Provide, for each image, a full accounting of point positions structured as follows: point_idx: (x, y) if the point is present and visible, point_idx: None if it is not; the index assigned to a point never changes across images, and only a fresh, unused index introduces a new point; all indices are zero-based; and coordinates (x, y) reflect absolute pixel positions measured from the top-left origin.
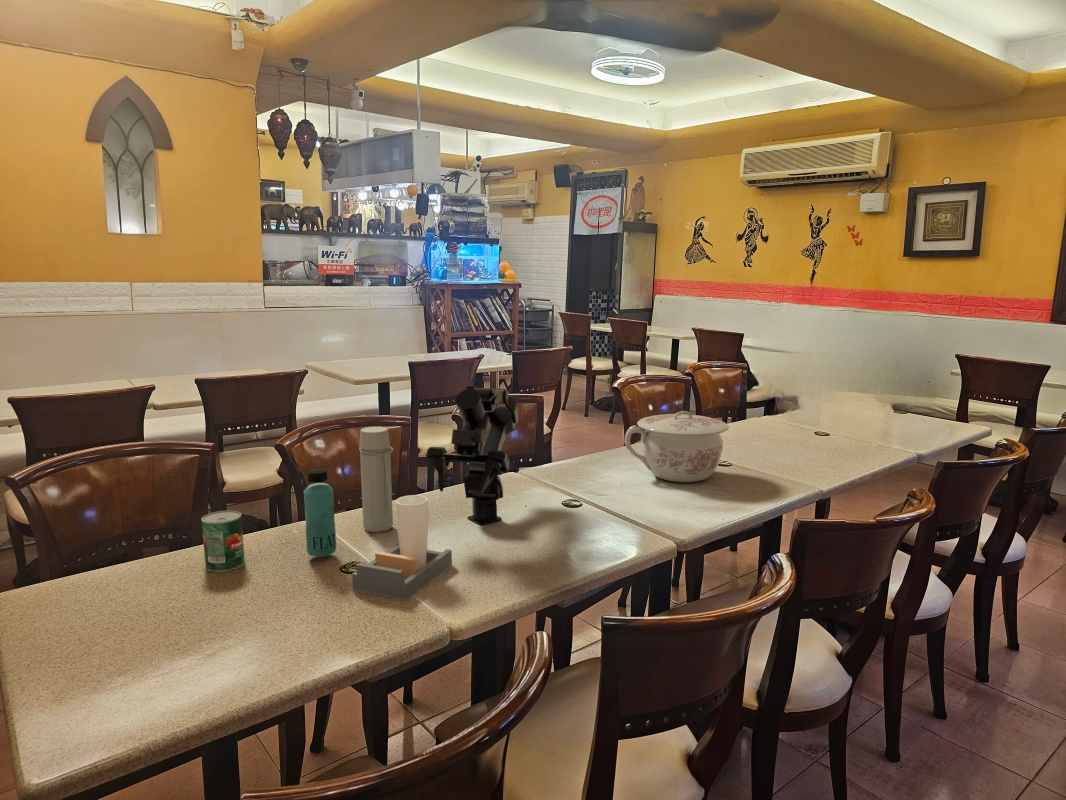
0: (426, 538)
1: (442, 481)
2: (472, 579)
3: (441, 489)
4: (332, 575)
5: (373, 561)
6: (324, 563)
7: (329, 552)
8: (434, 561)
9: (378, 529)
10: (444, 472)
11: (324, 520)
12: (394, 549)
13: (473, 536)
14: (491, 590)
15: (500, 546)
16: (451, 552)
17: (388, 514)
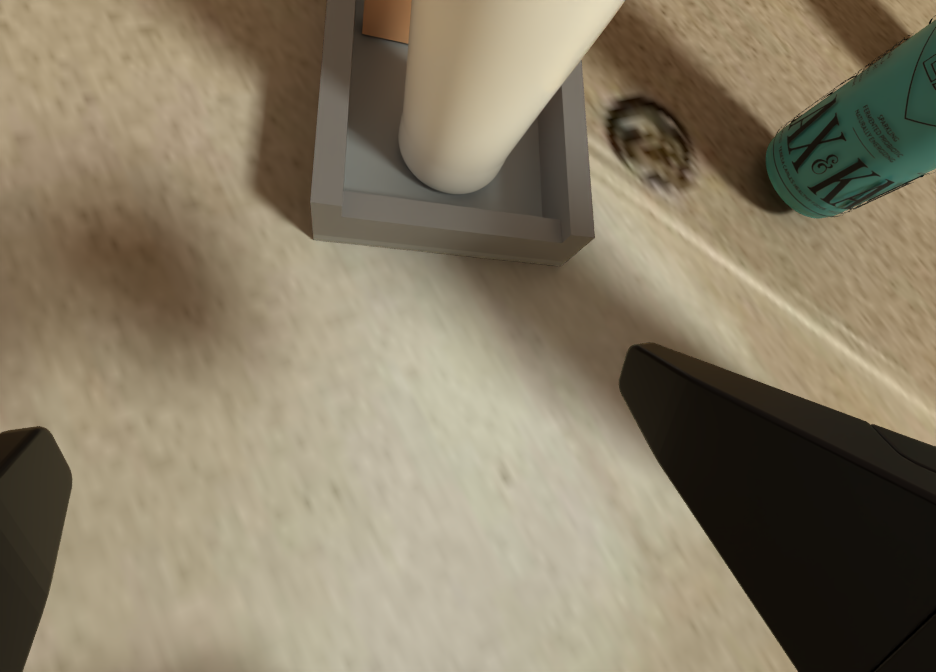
0: (410, 37)
1: (712, 391)
2: (149, 127)
3: (631, 353)
4: (666, 76)
5: None
6: (746, 150)
7: (772, 148)
8: (329, 60)
9: None
10: (889, 595)
11: (917, 39)
12: (571, 151)
13: (371, 648)
14: (6, 40)
15: (134, 573)
16: (311, 208)
17: None
